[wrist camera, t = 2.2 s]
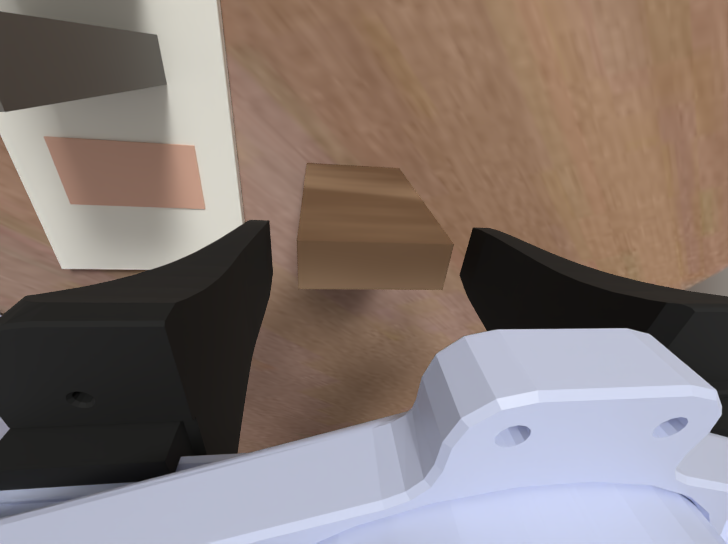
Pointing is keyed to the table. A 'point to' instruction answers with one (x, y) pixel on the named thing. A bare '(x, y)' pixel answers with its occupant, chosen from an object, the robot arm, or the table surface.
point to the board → (134, 144)
